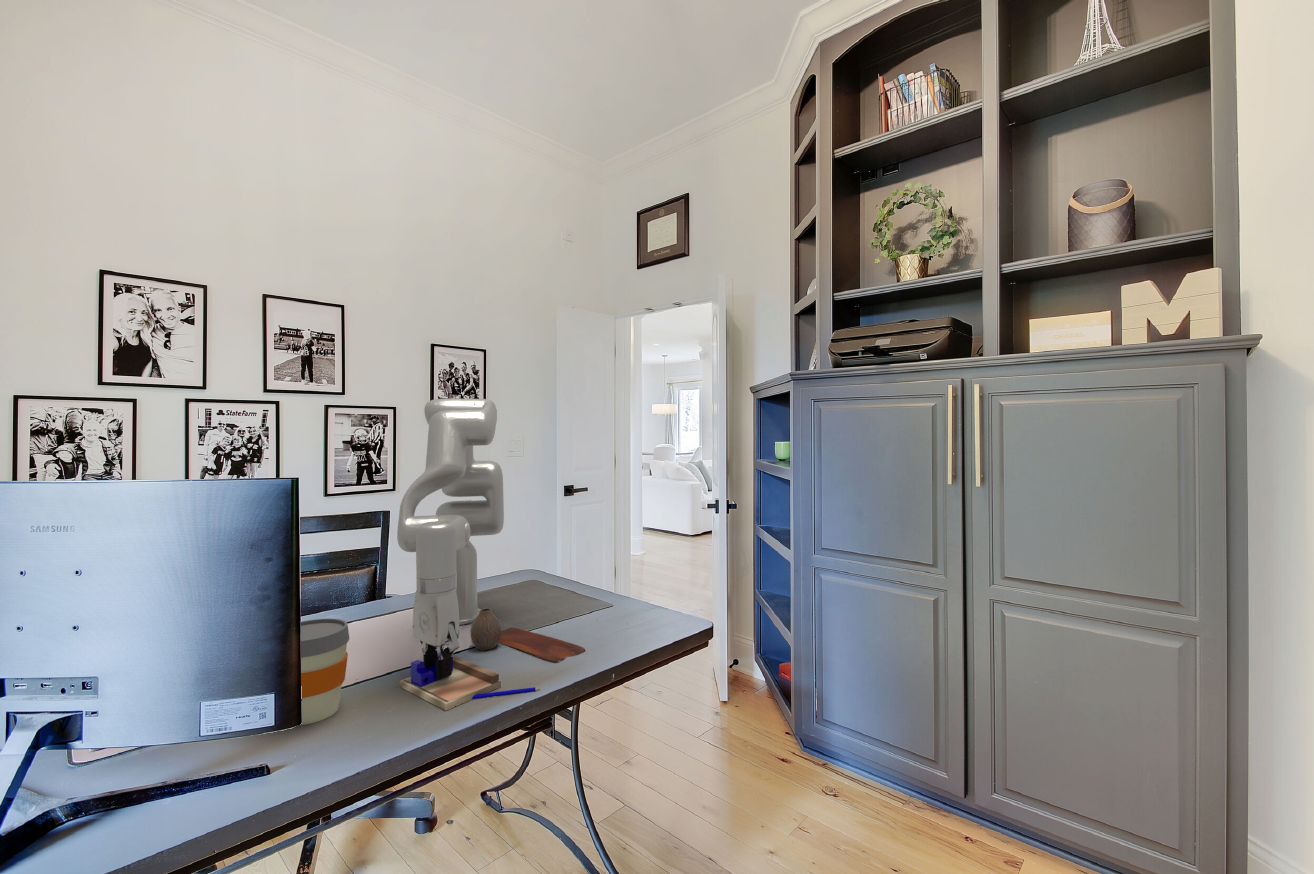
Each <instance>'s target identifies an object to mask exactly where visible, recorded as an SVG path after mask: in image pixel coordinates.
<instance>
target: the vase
mask: <svg viewBox="0 0 1314 874" xmlns="http://www.w3.org/2000/svg"><path fill="white" fill-rule="evenodd" d="M480 609H481V608H480ZM469 631H470V641H471V643H472V646H474V647H475V648H476V649H477V650H480V651H487V650H488V651H489V650H492V649H494V648H495V647H496V646H497V645H498V644H499V643H498V642H499V640H500V637H501V631H502V625H501V622H500V620H499V618H498V617H497V615H495V613H494V612H493V610H492V609H491V608H490V607H487V608H486V607H484V608H482V609H481V610H480V613H479V615H478V616H477V617H476V619H475V620H474V621H473V622H472V623H471V626H470V630H469Z"/></svg>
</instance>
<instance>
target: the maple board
mask: <svg viewBox="0 0 1314 874" xmlns="http://www.w3.org/2000/svg"><path fill="white" fill-rule="evenodd" d="M499 676H500V674H499V673H498V672H494V671H493V670H490V669H488V668H485V667H482V666H480V665H478V664H475V663H472V662H471V661H468V660H466V659H463V658H461V657H458V656H455V655H453V671H452V675H451V676H449V677H446V678H443V679H441V680H438V681H436V682H433V683H431V684H428V685H426V686H423V687H419V686H417V685H415V684H413V683H411V676H410V677H406V678H404V679H401V680H400V681H399V687H400V688H401V689H404V690H405V691H407V692H409V693H411V694H413V695H415V696H416V697H418V696H419V698H421V699H422V700H425V701H426V702H428V703H430V704H432V705H434V706H435V707H438V708H440V709H442V710H443V711H446V712H447V711H448V710H451V709H453V708H456V707H458V706H460V705H462V703H463V704H464V703H468V702H469V701H471V700H472V697H473V696H474V695H476V694H484V693H491V692H493V691H495V690H497V689H498V688H501V687H502V680H501V679H499ZM472 701H473V700H472ZM455 706H456V707H455Z"/></svg>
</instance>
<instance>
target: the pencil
mask: <svg viewBox="0 0 1314 874" xmlns="http://www.w3.org/2000/svg"><path fill="white" fill-rule="evenodd" d="M540 690H541V688H538V687H536V686H533V687H527V688H519V689H510V690H501V691H491V692H488V693H484V694H476V695H474V696H473V697H472V701H473V700H478V699H479V700H481V699H487V697H489V698H494V697H493V696H497V697H503V696H504V697H505V696H513V695H519V694H527V693H528V694H529V693H533V692H534V693H536V692H538V691H540Z"/></svg>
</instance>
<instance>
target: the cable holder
mask: <svg viewBox="0 0 1314 874" xmlns="http://www.w3.org/2000/svg"><path fill="white" fill-rule="evenodd" d="M453 656H454V655H453ZM453 656H452V671H453ZM410 677H411V683H413V684H415V685H417V686H419V687H423V686H426V685H428V684H431V683H433V682H436V681H438V680H437V679H436V664H435V665H434V666H432V667H431V668H427V669H426V668H425V666H424V662H423V661H422V660H420V659H416V660H413V661H410Z"/></svg>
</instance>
